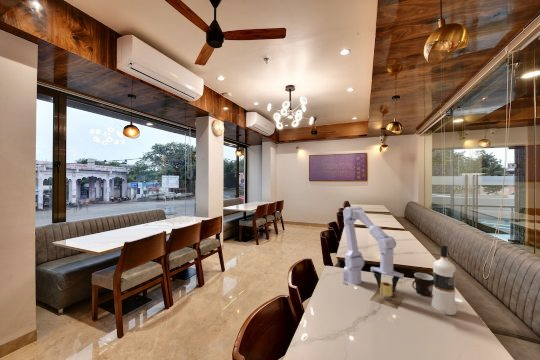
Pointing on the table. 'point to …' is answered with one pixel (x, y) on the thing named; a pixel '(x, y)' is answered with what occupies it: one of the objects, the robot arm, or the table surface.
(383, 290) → the brass gear
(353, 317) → the table surface
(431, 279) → the coffee mug
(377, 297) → the board
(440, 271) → the vodka
